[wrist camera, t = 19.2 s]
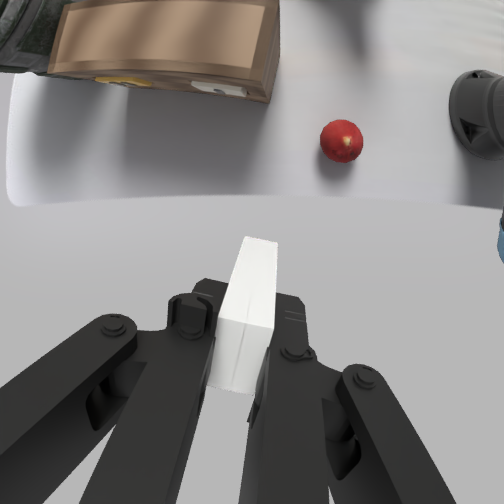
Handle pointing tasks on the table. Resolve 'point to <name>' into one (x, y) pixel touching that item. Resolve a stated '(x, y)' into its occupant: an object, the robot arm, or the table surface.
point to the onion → (341, 141)
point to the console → (172, 43)
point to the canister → (29, 35)
